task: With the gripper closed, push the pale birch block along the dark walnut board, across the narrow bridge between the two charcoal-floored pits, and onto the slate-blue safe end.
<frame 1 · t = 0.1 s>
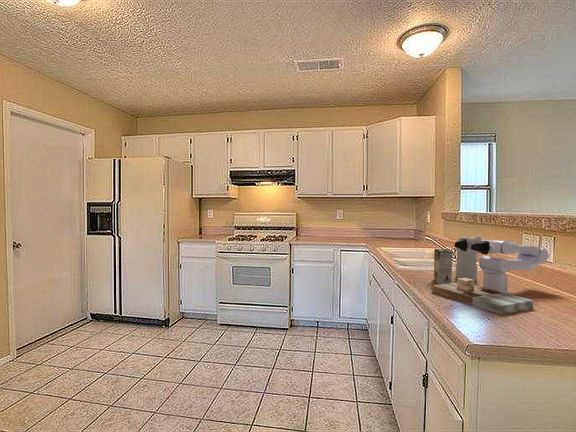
hand: (463, 245, 129), 22 cm above the countertop, tool horizontal, fingers open, 7 cm apart
grey upright slab: (466, 279, 162), on the countertop
coffee box: (442, 282, 156), on the countertop
trap board: (478, 299, 127), on the countertop
block: (465, 288, 132), point 3 cm above the countertop, touching trap board
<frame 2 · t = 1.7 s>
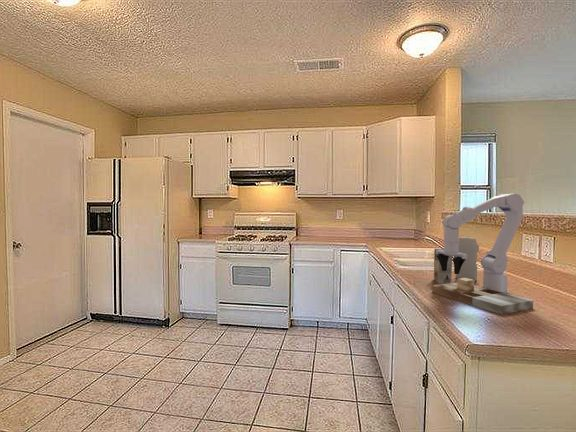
hand: (450, 272, 139), 8 cm above the countertop, tool pointing down, fingers open, 6 cm apart
nothing on the countertop moved.
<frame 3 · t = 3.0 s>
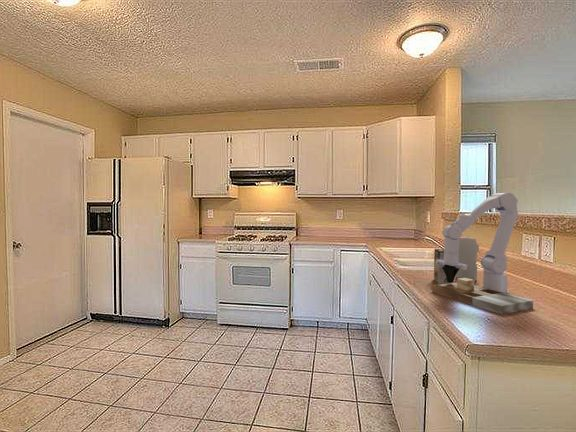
hand: (450, 282, 139), 4 cm above the countertop, tool pointing down, fingers closed
nothing on the countertop moved.
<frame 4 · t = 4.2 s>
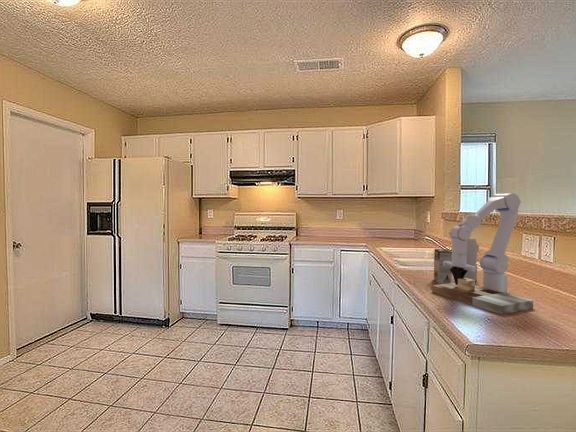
hand: (458, 284, 135), 4 cm above the countertop, tool pointing down, fingers closed
block: (466, 288, 132), point 3 cm above the countertop, touching gripper
everything else where it was.
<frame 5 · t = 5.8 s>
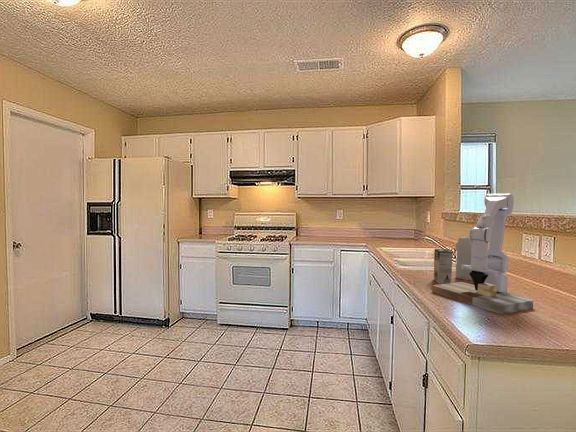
hand: (478, 290, 127), 4 cm above the countertop, tool pointing down, fingers closed
block: (486, 294, 123), point 3 cm above the countertop, touching gripper
everything else where it was.
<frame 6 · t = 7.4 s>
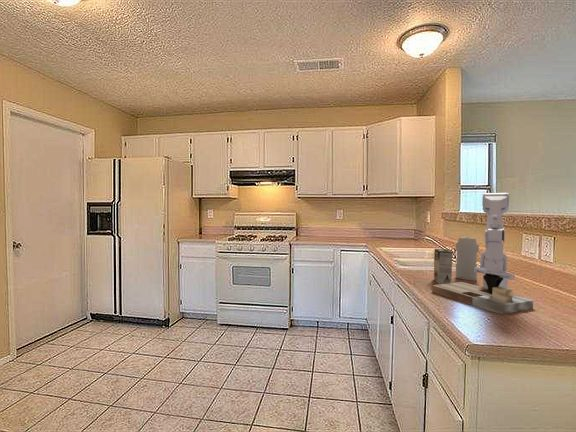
hand: (492, 294, 121), 4 cm above the countertop, tool pointing down, fingers closed
block: (502, 298, 118), point 3 cm above the countertop, touching gripper, trap board
everything else where it was.
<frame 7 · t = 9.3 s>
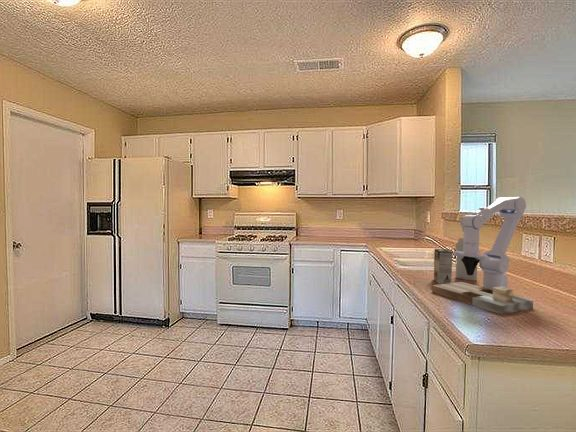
hand: (470, 274, 132), 9 cm above the countertop, tool pointing down, fingers closed
block: (502, 298, 118), point 3 cm above the countertop, touching trap board
everything else where it was.
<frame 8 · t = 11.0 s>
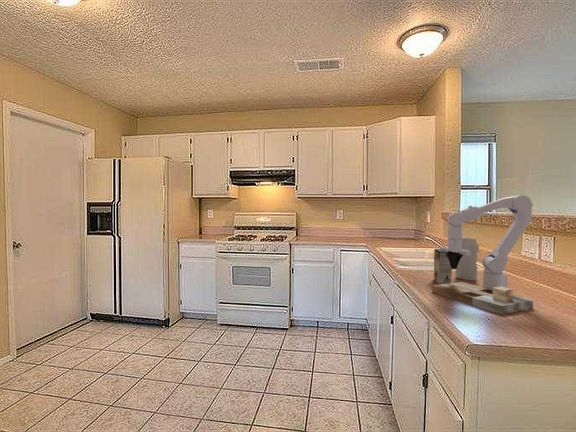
hand: (453, 268, 142), 9 cm above the countertop, tool pointing down, fingers closed
nothing on the countertop moved.
at the end: block inside the target area (0.3 cm from its centre), point 3.0 cm above the countertop; block tilted 0° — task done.
